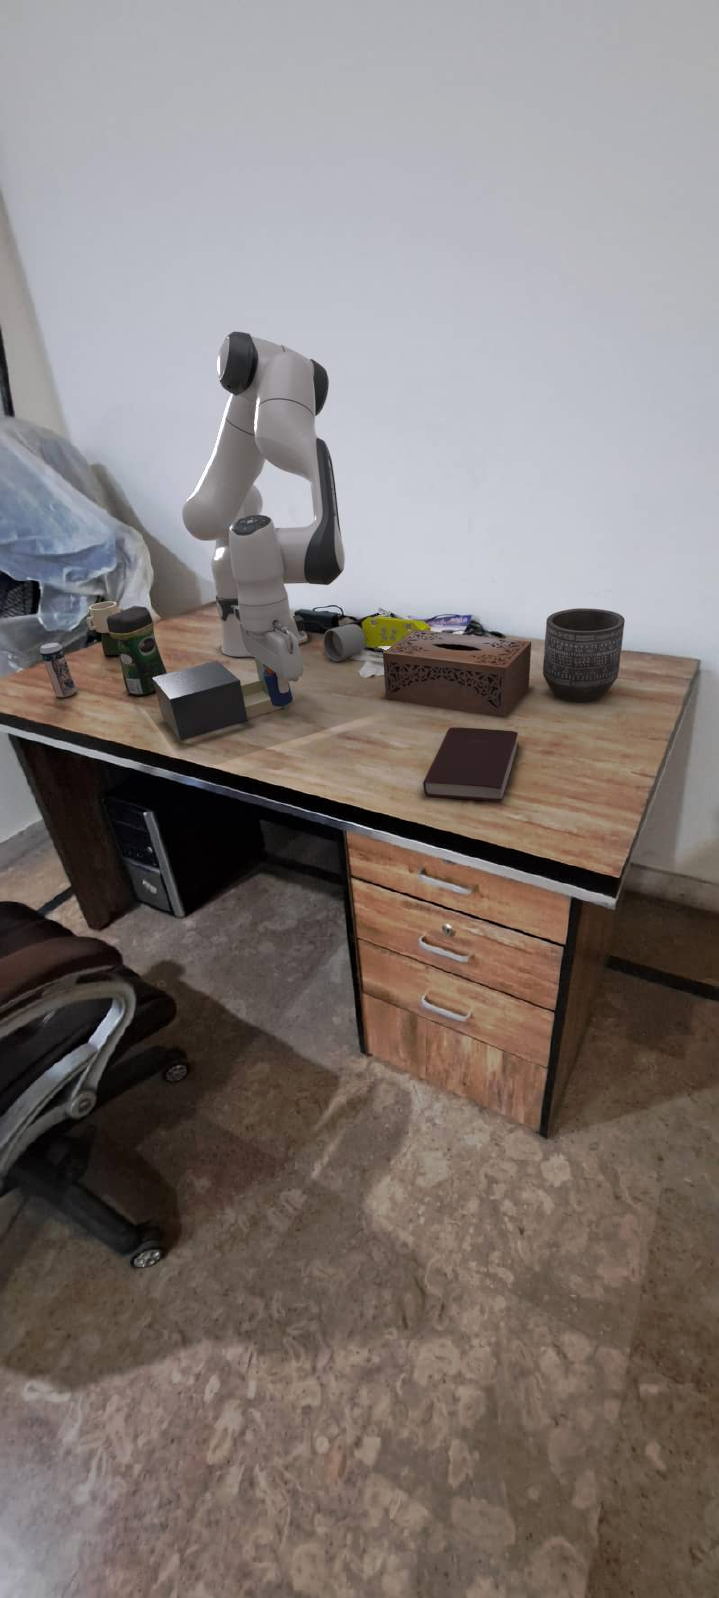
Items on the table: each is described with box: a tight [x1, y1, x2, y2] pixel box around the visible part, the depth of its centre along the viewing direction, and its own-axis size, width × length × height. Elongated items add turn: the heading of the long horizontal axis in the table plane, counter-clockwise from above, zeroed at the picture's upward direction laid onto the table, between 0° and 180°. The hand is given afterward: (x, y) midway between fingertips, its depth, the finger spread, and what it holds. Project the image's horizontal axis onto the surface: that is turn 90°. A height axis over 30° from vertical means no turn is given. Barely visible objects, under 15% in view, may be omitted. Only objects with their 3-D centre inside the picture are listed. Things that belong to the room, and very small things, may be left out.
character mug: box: [85, 601, 125, 656], centre depth 176 cm, size 11×7×13 cm, turn 141°
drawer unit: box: [152, 660, 249, 742], centre depth 135 cm, size 14×14×10 cm
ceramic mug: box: [322, 624, 366, 662], centre depth 162 cm, size 11×8×8 cm
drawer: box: [241, 657, 300, 719], centre depth 139 cm, size 18×14×9 cm
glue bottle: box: [263, 667, 294, 707], centre depth 127 cm, size 4×4×7 cm
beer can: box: [39, 641, 77, 698], centre depth 155 cm, size 5×5×12 cm
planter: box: [542, 607, 626, 703], centre depth 131 cm, size 14×14×15 cm
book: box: [422, 726, 519, 802], centre depth 112 cm, size 12×19×3 cm, turn 161°
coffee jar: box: [107, 605, 168, 697], centre depth 152 cm, size 10×8×19 cm
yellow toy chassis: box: [361, 615, 432, 652], centre depth 162 cm, size 16×6×8 cm, turn 58°
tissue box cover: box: [382, 630, 532, 718], centre depth 137 cm, size 26×14×10 cm, turn 60°
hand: (277, 686), depth 128 cm, fingers closed on glue bottle, 4 cm apart
